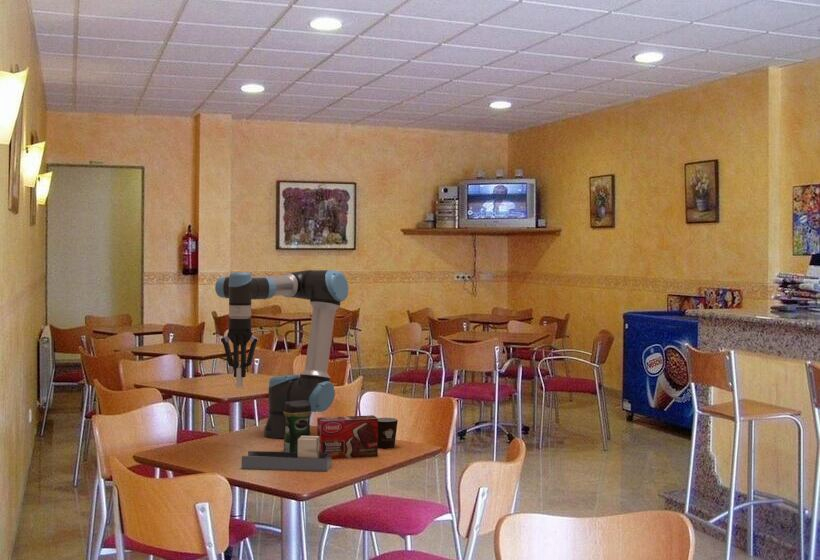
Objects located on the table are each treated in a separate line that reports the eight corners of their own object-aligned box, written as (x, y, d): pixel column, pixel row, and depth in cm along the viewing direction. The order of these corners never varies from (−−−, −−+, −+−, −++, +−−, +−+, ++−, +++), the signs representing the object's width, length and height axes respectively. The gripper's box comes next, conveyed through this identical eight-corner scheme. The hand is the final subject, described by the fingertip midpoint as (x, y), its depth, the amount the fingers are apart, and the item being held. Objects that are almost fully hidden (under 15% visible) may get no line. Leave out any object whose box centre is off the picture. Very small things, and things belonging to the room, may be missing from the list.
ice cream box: (320, 459, 311) (320, 420, 311) (317, 455, 317) (317, 417, 317) (377, 456, 317) (377, 418, 316) (372, 452, 323) (373, 415, 323)
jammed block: (301, 459, 302) (301, 435, 302) (319, 460, 301) (319, 436, 301) (297, 463, 296) (297, 439, 296) (315, 464, 296) (316, 439, 295)
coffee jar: (305, 450, 326) (306, 398, 326) (314, 454, 319) (314, 401, 319) (280, 452, 322) (280, 399, 321) (288, 456, 315) (288, 403, 314)
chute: (248, 462, 305) (248, 450, 305) (331, 465, 303) (331, 453, 302) (241, 468, 296) (241, 456, 296) (327, 471, 294) (327, 458, 294)
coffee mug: (398, 444, 337) (399, 417, 336) (396, 449, 328) (396, 421, 328) (367, 443, 338) (367, 417, 338) (364, 448, 329) (364, 421, 329)
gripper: (218, 318, 308) (217, 388, 308) (256, 318, 307) (255, 388, 307) (224, 316, 315) (224, 384, 316) (261, 317, 314) (261, 385, 315)
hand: (239, 386), depth 311 cm, fingers closed
